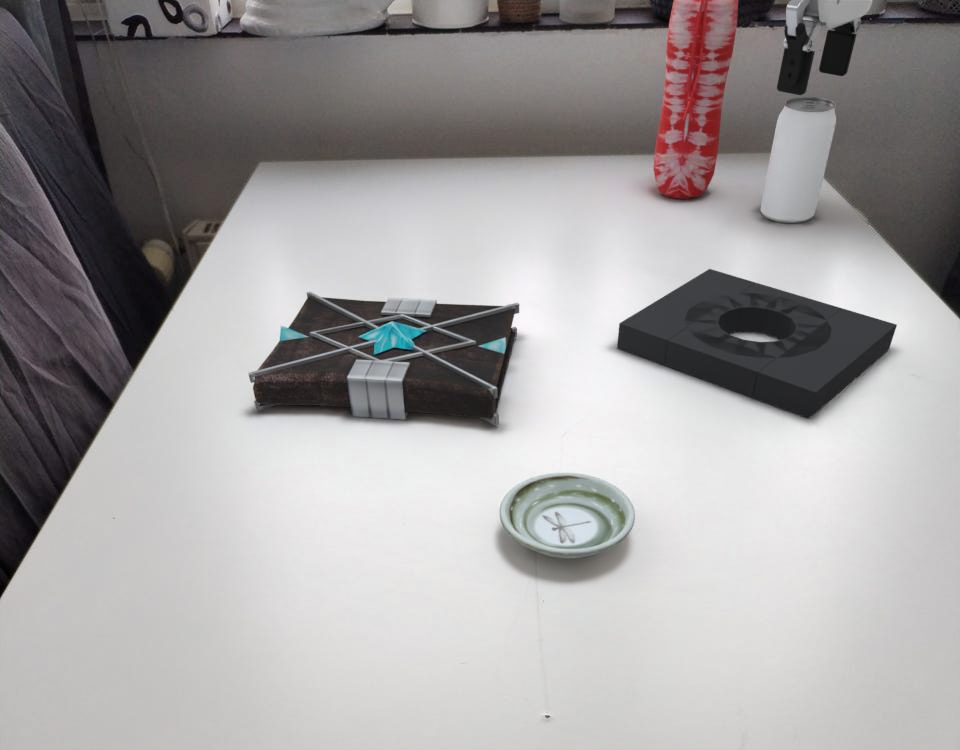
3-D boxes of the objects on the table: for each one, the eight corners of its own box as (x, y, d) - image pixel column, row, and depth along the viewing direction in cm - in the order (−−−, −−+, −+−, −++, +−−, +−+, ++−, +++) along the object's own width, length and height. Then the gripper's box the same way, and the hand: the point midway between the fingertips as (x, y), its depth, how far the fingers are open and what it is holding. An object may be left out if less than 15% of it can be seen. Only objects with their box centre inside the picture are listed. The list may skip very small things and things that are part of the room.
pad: (889, 349, 84) (897, 324, 82) (808, 418, 76) (816, 392, 74) (705, 292, 94) (709, 268, 92) (616, 347, 86) (619, 323, 84)
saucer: (659, 549, 64) (663, 522, 62) (545, 596, 61) (546, 569, 59) (582, 483, 70) (584, 456, 68) (476, 522, 67) (475, 495, 65)
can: (757, 221, 107) (778, 109, 99) (761, 203, 112) (782, 94, 103) (813, 226, 106) (839, 113, 97) (815, 207, 110) (840, 97, 102)
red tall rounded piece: (659, 170, 121) (685, -62, 103) (719, 175, 119) (756, -61, 101) (642, 201, 113) (667, -46, 95) (706, 207, 111) (743, -44, 93)
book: (254, 412, 78) (243, 359, 75) (309, 325, 90) (301, 276, 87) (498, 428, 76) (497, 374, 72) (522, 337, 88) (522, 286, 84)
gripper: (853, -107, 80) (805, 107, 93) (930, -125, 89) (878, 72, 102) (778, -113, 84) (742, 94, 96) (859, -129, 93) (817, 61, 105)
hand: (812, 82), depth 99 cm, fingers open, 9 cm apart
